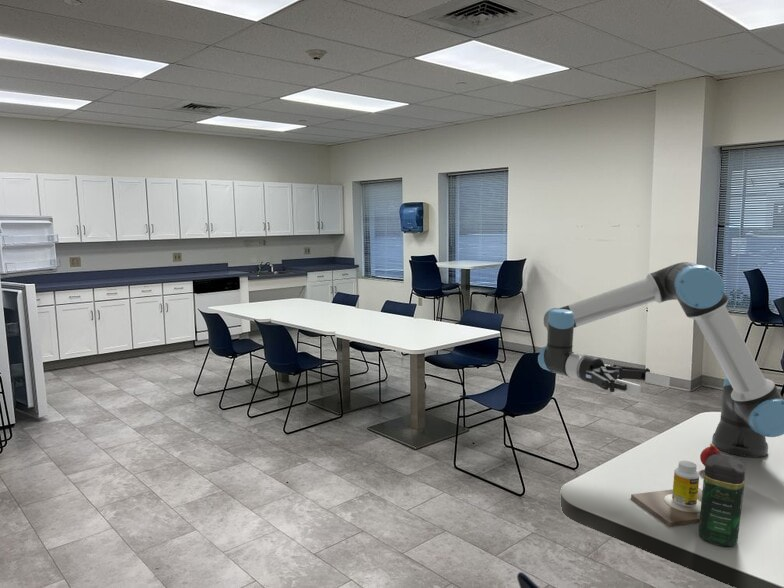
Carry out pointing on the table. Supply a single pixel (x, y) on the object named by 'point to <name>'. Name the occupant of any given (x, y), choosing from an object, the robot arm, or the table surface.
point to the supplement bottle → (685, 484)
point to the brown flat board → (669, 507)
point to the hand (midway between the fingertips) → (654, 386)
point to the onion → (708, 453)
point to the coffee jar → (721, 499)
